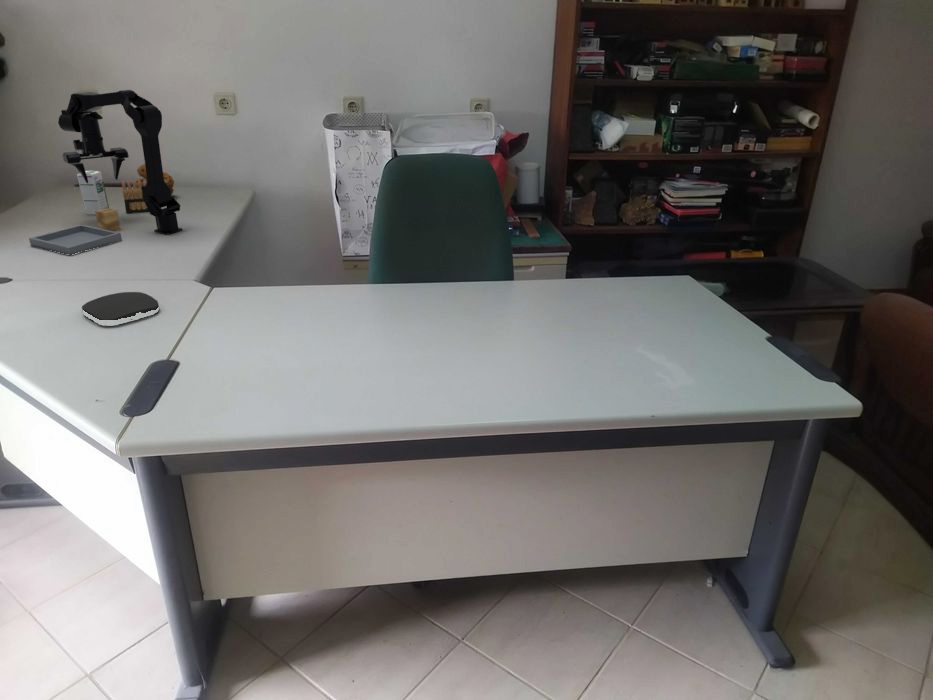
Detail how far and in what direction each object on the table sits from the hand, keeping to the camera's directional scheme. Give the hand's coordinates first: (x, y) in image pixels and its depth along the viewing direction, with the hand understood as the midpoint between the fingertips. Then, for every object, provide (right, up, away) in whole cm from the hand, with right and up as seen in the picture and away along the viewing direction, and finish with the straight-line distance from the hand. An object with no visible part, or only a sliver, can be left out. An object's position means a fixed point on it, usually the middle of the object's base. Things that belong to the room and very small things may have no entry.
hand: (101, 181), depth 223 cm
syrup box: (-10, -8, +15) cm, 20 cm away
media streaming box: (+39, -49, -61) cm, 87 cm away
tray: (+1, -24, -16) cm, 29 cm away
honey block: (+4, -17, -2) cm, 18 cm away
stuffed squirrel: (+2, +3, +37) cm, 37 cm away
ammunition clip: (+5, -7, +18) cm, 20 cm away
